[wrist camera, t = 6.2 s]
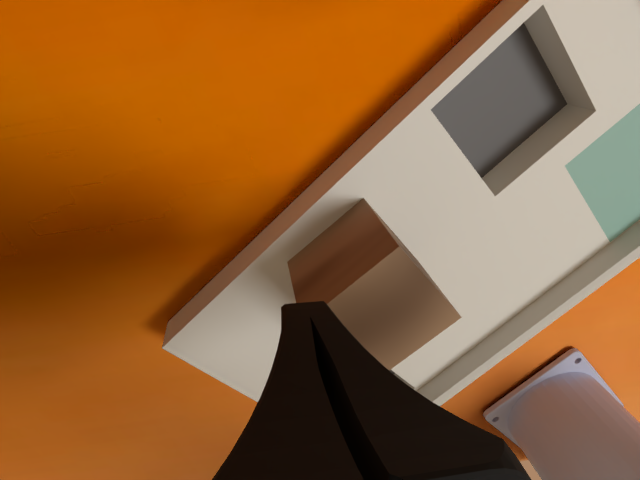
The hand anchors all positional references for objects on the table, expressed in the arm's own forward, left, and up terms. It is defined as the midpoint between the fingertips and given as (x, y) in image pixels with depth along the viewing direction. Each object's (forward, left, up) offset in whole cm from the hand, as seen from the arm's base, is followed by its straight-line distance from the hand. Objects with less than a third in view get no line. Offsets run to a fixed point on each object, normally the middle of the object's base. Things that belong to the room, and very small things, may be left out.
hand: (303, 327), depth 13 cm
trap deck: (-7, -5, -8) cm, 12 cm away
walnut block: (-3, -1, -6) cm, 7 cm away
